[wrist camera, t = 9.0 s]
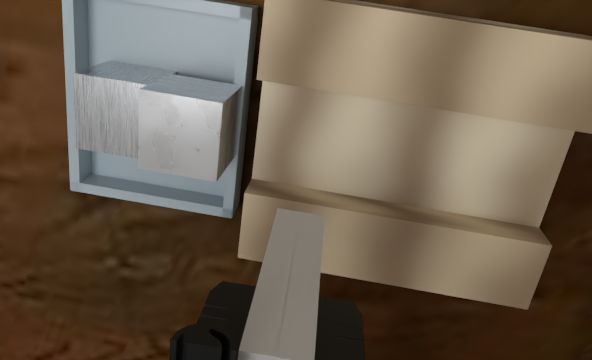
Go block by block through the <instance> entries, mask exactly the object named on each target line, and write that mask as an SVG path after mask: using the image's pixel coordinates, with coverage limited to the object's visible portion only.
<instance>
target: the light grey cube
mask: <svg viewBox="0 0 592 360" xmlns="http://www.w3.org/2000/svg"><path fill="white" fill-rule="evenodd" d="M241 93H242V86H241V85H235V84H229V83H223V82H217V81H211V80H205V79H199V78H193V77H187V76H181V75H174V74H168V75H166V76H164V77H162V78H160V79H158V80H156V81H154V82H152V83H150V84H148V85H146V86H144V87H142V88H140V89H139V121H138V168H139V169H145V170H150V171H156V172H162V173H167V174H173V175H178V176H184V177H190V178H195V179H201V180H207V181H212V182H217V181H218V179H219V178H220V177H221V175H222V174H223V172H224V171H225V170H226V168H227V167H228V165H229V164H230V163H231V161H232V160H233V158H234V157H235V156H236V146H237V136H238V125H239V114H240V104H241Z"/></svg>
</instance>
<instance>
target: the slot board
mask: <svg viewBox="0 0 592 360" xmlns="http://www.w3.org/2000/svg"><path fill="white" fill-rule="evenodd" d="M256 80H261V81H263V82H262V91H261V100H260V109H259V118H258V127H257V136H256V145H255V154H254V163H253V172H252V179H251V181H250V183H249V185H248V187H247V189H246V191H245V193H244V202H243V211H242V221H241V230H240V240H239V249H238V258H243V259H248V260H254V261H259V262H263V260H264V256H265V252H266V249H267V245H268V241H269V238H270V234H271V230H272V227H273V223H274V219H275V216H276V212H277V208H281V209H287V210H293V211H299V212H305V213H312V214H318V215H324V226H323V241H322V256H321V271H320V272H321V273H326V274H332V275H337V276H343V277H349V278H354V279H360V280H365V281H371V282H376V283H382V284H388V285H393V286H399V287H404V288H410V289H416V290H421V291H427V292H432V293H438V294H443V295H449V296H455V297H460V298H466V299H471V300H477V301H482V302H488V303H494V304H499V305H505V306H510V307H516V308H522V309H528V307H529V304H530V302H531V299H532V297H533V294H534V291H535V289H536V286H537V284H538V281H539V279H540V276H541V273H542V271H543V268H544V266H545V263H546V261H547V258H548V256H549V253H550V250H551V248H552V245H551V243H550V242H549V241H548V239H547V238H546V237H545V235H544V234H543V232H542V231H541V230H540V228H539V226H540V224H541V221H542V218H543V216H544V213H545V210H546V207H547V205H548V202H549V199H550V197H551V194H552V191H553V189H554V186H555V183H556V181H557V178H558V175H559V172H560V170H561V167H562V164H563V162H564V159H565V156H566V154H567V151H568V148H569V146H570V143H571V140H572V137H573V135H574V132H575V131H578V132H585V133H591V134H592V37H591V36H587V35H582V34H575V33H569V32H562V31H555V30H549V29H542V28H536V27H529V26H522V25H516V24H509V23H502V22H496V21H489V20H483V19H476V18H469V17H463V16H456V15H450V14H443V13H436V12H430V11H423V10H416V9H410V8H403V7H397V6H390V5H383V4H377V3H370V2H363V1H357V0H265V3H264V13H263V22H262V31H261V41H260V50H259V60H258V69H257V79H256Z"/></svg>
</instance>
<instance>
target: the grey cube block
mask: <svg viewBox="0 0 592 360" xmlns="http://www.w3.org/2000/svg"><path fill="white" fill-rule="evenodd" d="M168 74H174V75H178V71H173V70H166V69H160V68H154V67H148V66H142V65H135V64H129V63H123V62H117V61H111V60H109V61H106V62H103V63H100V64H97V65H94V66H91V67H89V68H86V69H83V70H80V71H77V72H74V73H73V88H74V114H75V140H76V148H77V149H83V150H89V151H95V152H100V153H106V154H112V155H118V156H124V157H130V158H136V159H138V121H139V89H140V88H142V87H144V86H146V85H148V84H150V83H152V82H154V81H156V80H158V79H160V78H162V77H164V76H166V75H168Z"/></svg>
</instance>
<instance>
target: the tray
mask: <svg viewBox="0 0 592 360" xmlns="http://www.w3.org/2000/svg"><path fill="white" fill-rule="evenodd" d="M258 14H259V6H257V5H251V4H244V3H238V2H231V1H225V0H62V15H63V37H64V60H65V82H66V104H67V127H68V149H69V172H70V190H72V191H77V192H83V193H89V194H95V195H100V196H106V197H112V198H117V199H123V200H129V201H134V202H140V203H146V204H152V205H157V206H163V207H169V208H174V209H180V210H186V211H191V212H197V213H203V214H209V215H214V216H220V217H226V218H231V219H232V217H233V215H234V213H235V211H236V209H237V208H238V206H239V200H240V191H241V181H242V171H243V161H244V151H245V142H246V132H247V122H248V112H249V102H250V93H251V83H252V73H253V63H254V53H255V44H256V34H257V24H258ZM109 60H111V61H117V62H123V63H129V64H135V65H142V66H148V67H154V68H160V69H166V70H173V71H178V75H181V76H187V77H193V78H199V79H205V80H211V81H217V82H223V83H229V84H235V85H241V86H242V93H241V104H240V114H239V125H238V136H237V146H236V156H235V157H234V158H233V160H232V161H231V163H230V164H229V165H228V167H227V168H226V170H225V171H224V172H223V174H222V175H221V177H220V178H219V179H218V181H217V182H212V181H207V180H201V179H195V178H190V177H184V176H178V175H173V174H167V173H162V172H156V171H150V170H145V169H139V168H138V159H136V158H130V157H124V156H118V155H112V154H106V153H100V152H95V151H89V150H83V149H77V148H76V140H75V114H74V88H73V73H74V72H77V71H80V70H83V69H86V68H89V67H91V66H94V65H97V64H100V63H103V62H106V61H109Z"/></svg>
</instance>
